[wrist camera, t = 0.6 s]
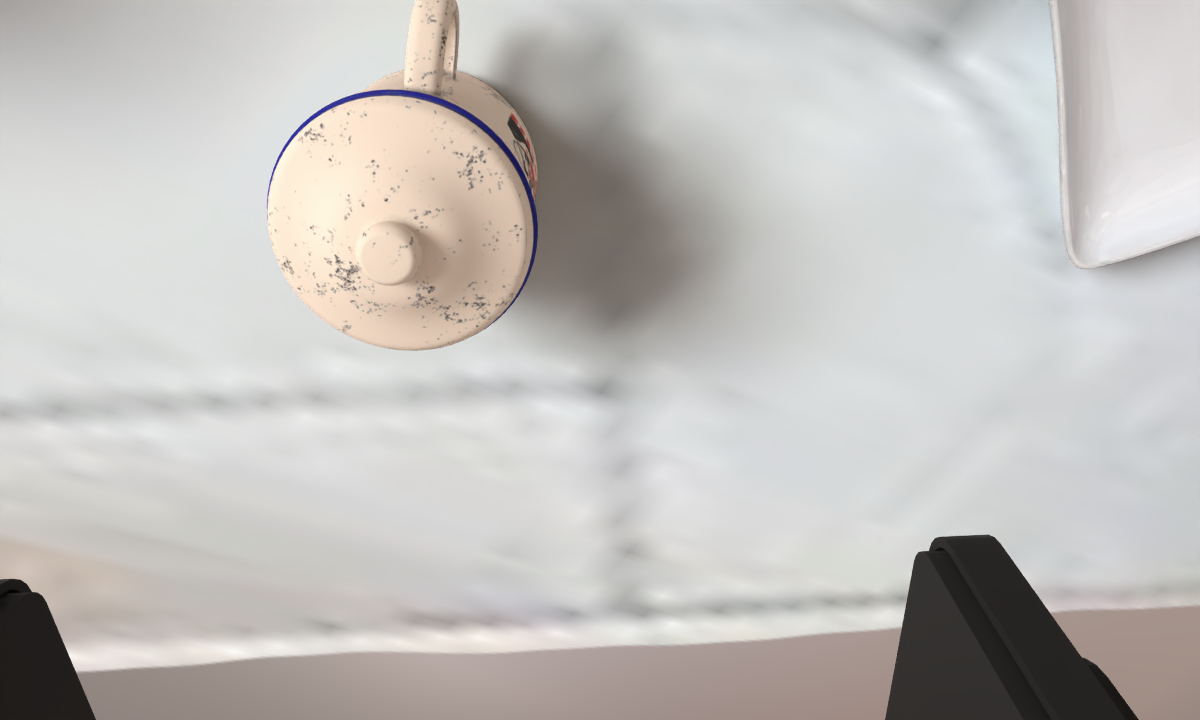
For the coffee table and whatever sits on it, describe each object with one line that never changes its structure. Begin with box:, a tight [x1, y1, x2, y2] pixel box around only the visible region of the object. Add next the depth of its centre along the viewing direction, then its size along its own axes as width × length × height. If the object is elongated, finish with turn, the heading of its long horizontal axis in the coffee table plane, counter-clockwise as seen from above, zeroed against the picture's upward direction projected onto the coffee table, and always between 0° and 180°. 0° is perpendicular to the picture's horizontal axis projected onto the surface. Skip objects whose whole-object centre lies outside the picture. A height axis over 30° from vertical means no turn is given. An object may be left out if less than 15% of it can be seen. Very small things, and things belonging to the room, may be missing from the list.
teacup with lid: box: [267, 0, 538, 351], centre depth 31 cm, size 12×9×12 cm
